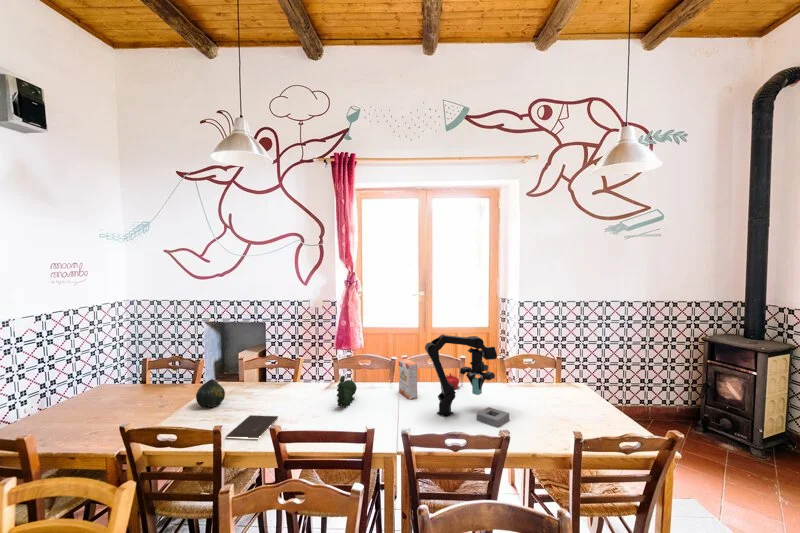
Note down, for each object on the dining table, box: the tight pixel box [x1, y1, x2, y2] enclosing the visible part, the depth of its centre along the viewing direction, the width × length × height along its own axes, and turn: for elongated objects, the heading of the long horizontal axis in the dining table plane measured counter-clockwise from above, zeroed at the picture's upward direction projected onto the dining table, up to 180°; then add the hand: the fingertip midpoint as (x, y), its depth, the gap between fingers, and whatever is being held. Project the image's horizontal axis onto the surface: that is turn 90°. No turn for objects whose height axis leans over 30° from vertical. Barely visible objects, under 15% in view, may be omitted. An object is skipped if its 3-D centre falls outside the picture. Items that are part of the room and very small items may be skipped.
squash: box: [195, 378, 226, 408], centre depth 226 cm, size 14×15×15 cm
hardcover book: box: [225, 414, 279, 438], centre depth 196 cm, size 16×23×2 cm
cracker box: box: [398, 357, 418, 400], centre depth 239 cm, size 14×6×21 cm, turn 25°
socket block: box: [475, 406, 510, 428], centre depth 204 cm, size 12×12×4 cm
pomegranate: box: [445, 372, 460, 390], centre depth 253 cm, size 10×10×9 cm
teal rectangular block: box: [471, 377, 483, 396], centre depth 214 cm, size 4×4×8 cm
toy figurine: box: [336, 375, 358, 407], centre depth 229 cm, size 9×19×25 cm
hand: (477, 388), depth 214 cm, fingers closed on teal rectangular block, 4 cm apart
